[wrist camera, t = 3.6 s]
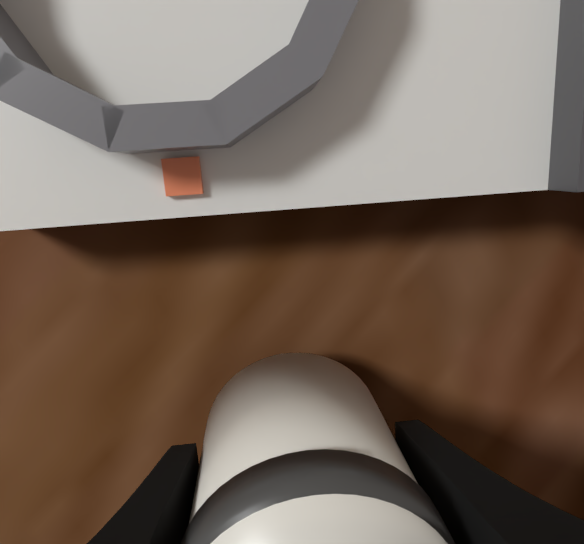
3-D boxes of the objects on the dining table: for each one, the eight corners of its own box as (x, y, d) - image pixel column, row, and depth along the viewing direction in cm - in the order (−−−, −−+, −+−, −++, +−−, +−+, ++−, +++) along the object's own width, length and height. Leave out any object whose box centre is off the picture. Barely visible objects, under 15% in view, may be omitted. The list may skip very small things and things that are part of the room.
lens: (380, 340, 13) (494, 496, 7) (384, 499, 14) (482, 751, 8) (191, 358, 12) (135, 539, 6) (213, 520, 13) (180, 798, 7)
